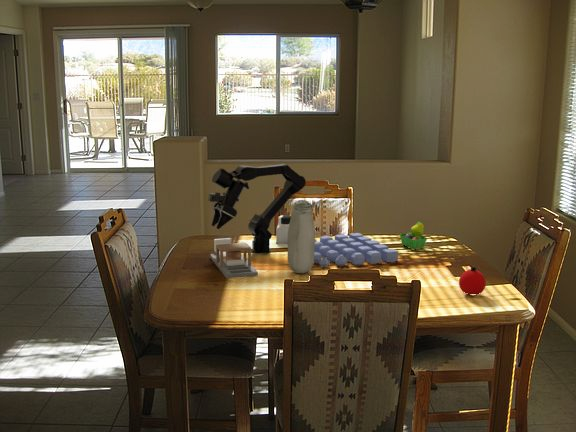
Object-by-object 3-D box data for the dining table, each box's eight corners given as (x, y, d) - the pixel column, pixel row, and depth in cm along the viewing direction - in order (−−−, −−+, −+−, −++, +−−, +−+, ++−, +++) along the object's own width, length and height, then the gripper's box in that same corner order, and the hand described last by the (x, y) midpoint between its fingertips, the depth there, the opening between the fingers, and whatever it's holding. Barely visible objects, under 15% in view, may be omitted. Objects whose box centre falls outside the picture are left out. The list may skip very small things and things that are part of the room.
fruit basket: (398, 245, 297) (399, 220, 295) (414, 243, 301) (415, 219, 298) (413, 251, 287) (414, 226, 285) (429, 249, 291) (431, 224, 288)
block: (238, 258, 262) (238, 248, 261) (241, 261, 258) (241, 251, 257) (225, 259, 261) (225, 249, 260) (228, 262, 256) (228, 252, 255)
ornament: (464, 289, 236) (466, 262, 233) (489, 294, 230) (491, 266, 228) (453, 295, 229) (455, 267, 227) (478, 301, 223) (480, 272, 221)
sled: (230, 249, 279) (230, 238, 278) (244, 264, 257) (244, 252, 256) (214, 250, 277) (214, 239, 276) (227, 266, 255) (227, 253, 254)
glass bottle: (311, 277, 248) (313, 203, 242) (285, 275, 250) (285, 202, 244) (315, 269, 258) (317, 198, 252) (290, 267, 260) (291, 197, 254)
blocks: (398, 263, 270) (398, 251, 269) (321, 271, 258) (321, 258, 257) (358, 243, 302) (358, 232, 301) (288, 249, 290) (288, 238, 289)
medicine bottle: (293, 240, 304) (293, 214, 302) (291, 243, 297) (292, 217, 295) (277, 239, 305) (278, 214, 303) (276, 243, 298) (276, 217, 296)
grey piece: (238, 255, 276) (238, 235, 275) (257, 275, 249) (257, 254, 247) (210, 257, 273) (210, 237, 271) (226, 278, 245) (226, 256, 243)
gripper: (211, 183, 278) (193, 215, 277) (221, 185, 261) (202, 220, 260) (233, 195, 282) (216, 227, 281) (245, 199, 265) (226, 233, 264)
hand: (214, 227), depth 271 cm, fingers open, 9 cm apart
